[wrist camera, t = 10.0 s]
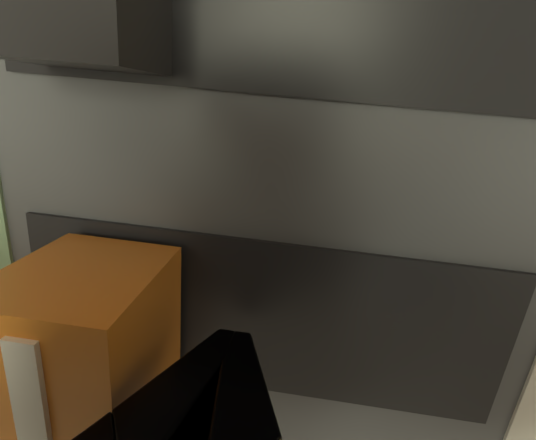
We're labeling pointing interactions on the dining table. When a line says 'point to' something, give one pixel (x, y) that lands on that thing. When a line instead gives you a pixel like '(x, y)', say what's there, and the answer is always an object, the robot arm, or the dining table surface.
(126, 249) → the handle
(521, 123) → the panel
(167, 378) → the robot arm
